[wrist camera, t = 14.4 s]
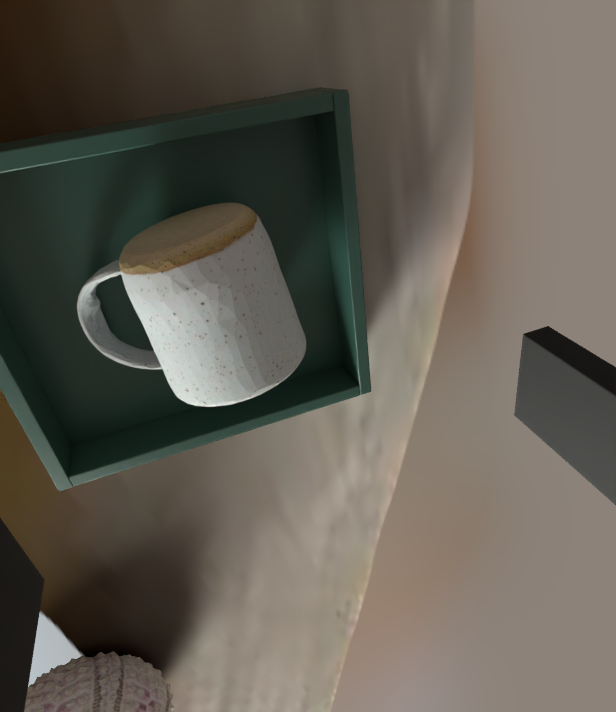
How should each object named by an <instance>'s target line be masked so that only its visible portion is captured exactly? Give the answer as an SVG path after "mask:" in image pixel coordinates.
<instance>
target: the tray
mask: <svg viewBox="0 0 616 712" xmlns="http://www.w3.org/2000/svg"><path fill="white" fill-rule="evenodd" d="M219 203H239V204H243V205H245V206H247V207H249V208H250V209H252V210H253V211H254V212H255V213H256V214H257V215H258V217H259V218H260V221H261V223H262V225H263V226H264V228H265V230H266V232H267V234H268V236H269V238H270V240H271V243H272V246H273V248H274V251H275V254H276V257H277V260H278V263H279V266H280V270H281V272H282V275H283V277H284V280H285V282H286V285H287V288H288V290H289V293H290V296H291V299H292V301H293V304H294V307H295V310H296V313H297V316H298V319H299V322H300V324H301V327H302V329H303V332H304V335H305V338H306V351H305V355H304V357H303V359H302V361H301V363H300V364H299V365H298V367H297V368H296V369H295V371H294V372H293V373H292V374H291V375H290V376H289V377H287V378H286V379H285V380H283V381H282V382H281V383H279V384H278V385H276V386H275V387H273V388H272V389H270V390H268V391H266V392H264V393H263V394H261V395H258V396H256V397H254V398H251V399H248V400H245V401H242V402H238V403H235V404H231V405H224V406H214V407H204V406H195V405H192V404H187V403H186V402H184V401H182V400H181V399H179V398H178V397H177V396H176V395H175V393H174V392H173V390H172V388H171V387H170V385H169V383H168V381H167V378H166V376H165V374H164V371H163V369H141V368H135V367H130V366H127V365H124V364H121V363H119V362H116V361H114V360H112V359H110V358H108V357H107V356H105V355H104V354H102V353H101V352H100V351H99V350H98V349H97V348H96V347H95V346H94V345H93V344H92V343H91V342H90V340H89V339H88V337H87V336H86V334H85V332H84V330H83V328H82V326H81V324H80V321H79V316H78V312H77V302H78V297H79V294H80V292H81V289H82V287H83V286H84V284H85V283H86V282H87V280H88V279H90V278H91V277H92V276H93V275H94V274H95V273H96V272H97V271H98V270H99V269H101V268H103V267H105V266H106V265H108V264H110V263H112V262H114V261H117V260H119V258H120V254H121V252H122V250H123V248H124V246H125V245H126V244H127V243H128V242H129V241H130V240H131V239H132V238H133V237H134V236H136V235H137V234H139V233H141V232H142V231H144V230H146V229H147V228H149V227H151V226H153V225H155V224H157V223H159V222H161V221H163V220H166V219H168V218H170V217H173V216H175V215H178V214H181V213H184V212H187V211H190V210H193V209H197V208H200V207H204V206H208V205H213V204H219ZM95 294H96V296H97V297H98V299H99V300H100V302H101V305H100V308H101V311H102V313H103V315H104V318H105V320H106V322H107V325H108V327H109V329H110V330H111V332H112V333H113V334H114V335H115V336H116V338H118V339H119V340H120V341H122V342H124V343H126V344H128V345H130V346H133V347H135V348H138V349H142V350H150V351H154V349H153V347H152V345H151V342H150V340H149V337H148V335H147V333H146V331H145V328H144V326H143V324H142V322H141V320H140V318H139V316H138V315H137V313H136V311H135V309H134V307H133V305H132V302H131V300H130V298H129V296H128V294H127V291H126V289H125V286H124V282H123V279H122V275H118V276H116V277H110V278H108V279H106V280H104V281H102V282H100V283H99V284H98V286H97V287H96V293H95ZM0 389H1V391H2V392H3V394H4V396H5V398H6V399H7V401H8V403H9V405H10V406H11V408H12V410H13V412H14V413H15V415H16V417H17V419H18V420H19V422H20V424H21V426H22V427H23V429H24V431H25V433H26V435H27V436H28V438H29V440H30V442H31V443H32V445H33V447H34V449H35V450H36V452H37V454H38V456H39V457H40V459H41V461H42V463H43V464H44V466H45V468H46V470H47V471H48V473H49V475H50V477H51V478H52V480H53V482H54V484H55V485H56V487H57V489H58V491H61V490H65V489H68V488H71V487H73V486H76V485H79V484H82V483H86V482H89V481H92V480H95V479H98V478H101V477H104V476H108V475H111V474H114V473H117V472H120V471H123V470H126V469H130V468H133V467H136V466H139V465H142V464H145V463H148V462H152V461H155V460H158V459H161V458H164V457H167V456H170V455H174V454H177V453H180V452H183V451H186V450H189V449H192V448H196V447H199V446H202V445H205V444H208V443H211V442H214V441H218V440H221V439H224V438H227V437H230V436H233V435H236V434H240V433H243V432H246V431H249V430H252V429H255V428H258V427H262V426H265V425H268V424H271V423H274V422H277V421H280V420H284V419H287V418H290V417H293V416H296V415H299V414H302V413H306V412H309V411H312V410H315V409H318V408H321V407H324V406H328V405H331V404H334V403H337V402H340V401H343V400H346V399H350V398H353V397H356V396H359V395H362V394H365V393H369V392H371V383H370V369H369V356H368V343H367V330H366V317H365V303H364V290H363V277H362V264H361V251H360V237H359V224H358V211H357V198H356V184H355V171H354V158H353V145H352V132H351V118H350V105H349V92H348V90H344V89H332V88H321V87H320V88H314V89H309V90H303V91H297V92H292V93H286V94H280V95H274V96H269V97H263V98H257V99H251V100H246V101H240V102H234V103H228V104H223V105H217V106H211V107H205V108H200V109H194V110H188V111H183V112H177V113H171V114H165V115H160V116H154V117H148V118H142V119H137V120H131V121H125V122H119V123H114V124H108V125H102V126H97V127H91V128H85V129H79V130H74V131H68V132H62V133H56V134H51V135H45V136H39V137H33V138H28V139H22V140H16V141H10V142H5V143H0Z"/></svg>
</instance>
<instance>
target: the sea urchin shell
mask: <svg viewBox="0 0 616 712" xmlns="http://www.w3.org/2000/svg"><path fill="white" fill-rule="evenodd" d="M169 688H170V685H169V684H167V683H166V680H164V679H163V678H162V676H161V671H160V670H157V669H154V668H153V666H152V664H150V663H145V662H144V661H143V660H142V659H141V658H140V657H137V658H136V657H135V656H131V655H130V654H129V655H127V656H126V655H124V656H118V655H117V654H116V653H115V652H114V651H113V652H111V653H108V654H106V655H105V654H103V653H102V652H101V653H99V654H98V655H97V656H95V657H85V656H81V657H80V658H78V659H71V661H70V662H69V663H67V664H65V665H60V666H57V667H56V668H55V669H53V668H51V670H50V672H49V673H46V674H42V676H41V677H37V679H36V681H35V683H34V684H33V685H30V686H29V688H28V690H27V696H26V703H25V709H24V712H171V711H172V709H173V708H174V707H173V705H172V703H171V699H172V697H173V694H171V693H170V691H169Z"/></svg>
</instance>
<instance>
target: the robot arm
mask: <svg viewBox="0 0 616 712" xmlns="http://www.w3.org/2000/svg"><path fill="white" fill-rule="evenodd" d="M515 416H516V417H517V418H518V419H519V420H520V421H522V422H523V423H524V424H525V425H526V426H527V427H528V428H529V429H530V430H532V431H533V432H534V433H535V434H536V435H537V436H538V437H539V438H541V439H542V440H543V441H544V442H545V443H546V444H547V445H549V446H550V447H551V448H552V449H553V450H554V451H555V452H556V453H558V454H559V455H560V456H561V457H562V458H563V459H564V460H565V461H567V462H568V463H569V464H570V465H571V466H572V467H574V468H575V469H576V470H577V471H578V472H579V473H580V474H581V475H582V476H583V477H585V478H586V479H587V480H588V481H589V482H590V483H591V484H592V485H594V486H595V487H596V488H597V489H598V490H599V491H600V492H601V493H603V494H604V495H605V496H606V497H607V498H608V499H609V500H610V501H612V502H613V503H614V504H615V505H616V367H614V366H613V365H611V364H609V363H608V362H606V361H604V360H603V359H601V358H600V357H598V356H596V355H595V354H593V353H591V352H590V351H588V350H586V349H585V348H583V347H581V346H580V345H578V344H577V343H575V342H573V341H571V340H570V339H568V338H567V337H565V336H563V335H562V334H560V333H558V332H557V331H555V330H554V329H552V328H550V327H549V326H547V327H544V328H541V329H538V330H534V331H531V332H528V333H525V334H523V340H522V350H521V359H520V368H519V377H518V386H517V395H516V405H515ZM43 585H44V578H43V577H42V576H41V574H40V573H39V571H38V570H37V569H36V567H35V566H34V564H33V563H32V562H31V560H30V559H29V557H28V556H27V555H26V553H25V552H24V550H23V549H22V548H21V546H20V545H19V544H18V542H17V541H16V539H15V538H14V537H13V535H12V534H11V532H10V531H9V530H8V528H7V527H6V525H5V524H4V523H3V521H2V520H1V518H0V712H24V709H25V703H26V696H27V690H28V682H29V677H30V670H31V664H32V657H33V651H34V644H35V637H36V631H37V625H38V618H39V612H40V605H41V598H42V592H43Z"/></svg>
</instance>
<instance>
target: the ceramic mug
mask: <svg viewBox="0 0 616 712" xmlns="http://www.w3.org/2000/svg"><path fill="white" fill-rule="evenodd" d="M118 275H122V279H123V282H124V286H125V289H126V291H127V294H128V296H129V298H130V300H131V302H132V305H133V307H134V309H135V311H136V313H137V315H138V316H139V318H140V320H141V322H142V324H143V326H144V328H145V331H146V333H147V335H148V337H149V340H150V342H151V345H152V347H153V349H154V351H150V350H142V349H138V348H135V347H133V346H130V345H128V344H126V343H124V342H122V341H120V340H119V339H118V338H116V336H115V335H114V334H113V333H112V332H111V330H110V329H109V327H108V325H107V322H106V320H105V318H104V315H103V313H102V311H101V308H100V305H101V302H100V300H99V299H98V297H97V296H96V294H95V293H96V287H97V286H98V284H99V283H100V282H102V281H104V280H106V279H108V278H110V277H116V276H118ZM77 312H78V316H79V321H80V324H81V326H82V328H83V330H84V332H85V334H86V336H87V337H88V339H89V340H90V342H91V343H92V344H93V345H94V346H95V347H96V348H97V349H98V350H99V351H100V352H101V353H102V354H104V355H105V356H107V357H108V358H110V359H112V360H114V361H116V362H119V363H121V364H124V365H127V366H130V367H135V368H141V369H163V371H164V374H165V376H166V378H167V381H168V383H169V385H170V387H171V388H172V390H173V392H174V393H175V395H176V396H177V397H178V398H179V399H181V400H182V401H184V402H186V403H187V404H192V405H195V406H204V407H214V406H224V405H231V404H235V403H238V402H242V401H245V400H248V399H251V398H254V397H256V396H258V395H261V394H263V393H264V392H266V391H268V390H270V389H272V388H273V387H275V386H276V385H278V384H279V383H281V382H282V381H283V380H285V379H286V378H287V377H289V376H290V375H291V374H292V373H293V372H294V371H295V369H296V368H297V367H298V365H299V364H300V363H301V361H302V359H303V357H304V355H305V351H306V338H305V335H304V332H303V329H302V327H301V324H300V322H299V319H298V316H297V313H296V310H295V307H294V304H293V301H292V299H291V296H290V293H289V290H288V288H287V285H286V282H285V280H284V277H283V275H282V272H281V270H280V266H279V263H278V260H277V257H276V254H275V251H274V248H273V246H272V243H271V240H270V238H269V236H268V234H267V232H266V230H265V228H264V226H263V225H262V223H261V221H260V218H259V217H258V215H257V214H256V213H255V212H254V211H253V210H252V209H250V208H249V207H247V206H245V205H243V204H239V203H219V204H213V205H208V206H204V207H200V208H197V209H193V210H190V211H187V212H184V213H181V214H178V215H175V216H173V217H170V218H168V219H166V220H163V221H161V222H159V223H157V224H155V225H153V226H151V227H149V228H147V229H146V230H144V231H142V232H141V233H139V234H137V235H136V236H134V237H133V238H132V239H131V240H130V241H129V242H128V243H127V244H126V245H125V246H124V248H123V250H122V252H121V254H120V258H119V260H117V261H114V262H112V263H110V264H108V265H106V266H105V267H103V268H101V269H99V270H98V271H97V272H96V273H95V274H94V275H93V276H92V277H91V278H90V279H88V280H87V282H86V283H85V284H84V286H83V287H82V289H81V292H80V294H79V297H78V302H77Z"/></svg>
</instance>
